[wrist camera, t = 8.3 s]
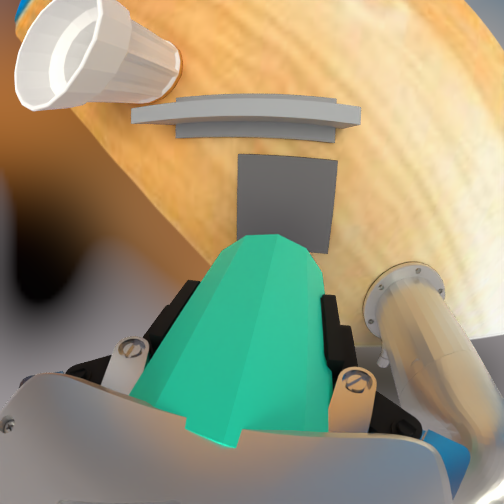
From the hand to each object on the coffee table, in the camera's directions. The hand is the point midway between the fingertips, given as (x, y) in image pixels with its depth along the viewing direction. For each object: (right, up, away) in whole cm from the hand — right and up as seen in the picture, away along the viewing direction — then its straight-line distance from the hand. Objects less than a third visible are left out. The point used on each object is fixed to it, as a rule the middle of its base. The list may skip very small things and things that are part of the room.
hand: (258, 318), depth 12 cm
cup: (-13, +26, +16) cm, 33 cm away
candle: (+1, +1, +3) cm, 3 cm away
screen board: (0, +18, +16) cm, 24 cm away
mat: (+4, +8, +20) cm, 22 cm away
